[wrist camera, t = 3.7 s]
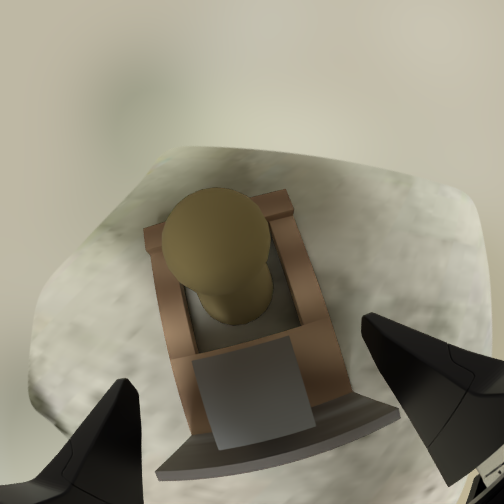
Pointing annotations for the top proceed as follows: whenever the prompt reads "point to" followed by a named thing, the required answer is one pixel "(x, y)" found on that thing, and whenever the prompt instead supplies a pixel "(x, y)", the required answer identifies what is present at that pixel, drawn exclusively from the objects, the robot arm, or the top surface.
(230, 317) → the tan rounded peg
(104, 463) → the robot arm
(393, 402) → the top surface
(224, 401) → the wooden shape sorter tray
